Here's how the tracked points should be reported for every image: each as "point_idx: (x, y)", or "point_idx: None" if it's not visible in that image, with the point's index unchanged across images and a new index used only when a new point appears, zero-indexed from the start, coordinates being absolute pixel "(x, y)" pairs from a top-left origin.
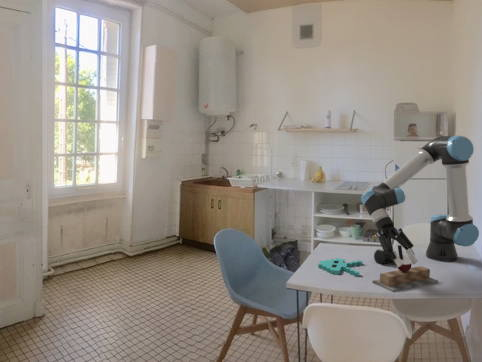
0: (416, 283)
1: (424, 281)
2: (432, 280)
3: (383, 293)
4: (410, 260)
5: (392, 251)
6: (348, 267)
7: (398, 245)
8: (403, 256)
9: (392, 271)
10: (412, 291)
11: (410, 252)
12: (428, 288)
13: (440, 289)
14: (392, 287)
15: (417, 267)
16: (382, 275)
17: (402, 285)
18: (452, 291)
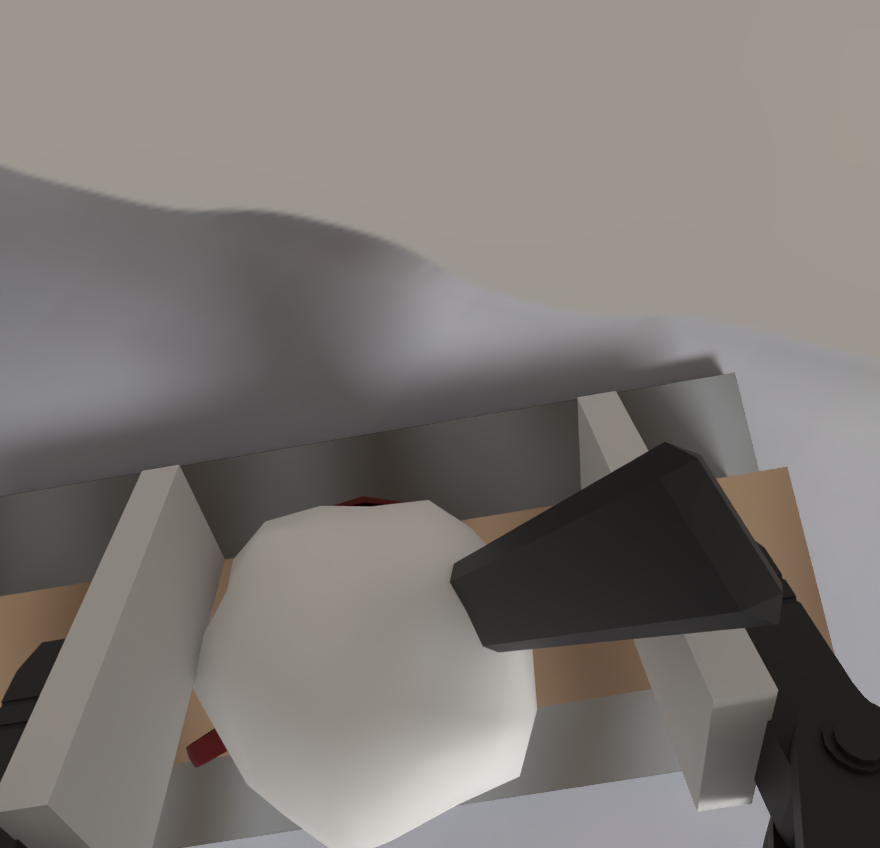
0: (311, 480)
1: None
2: (46, 517)
3: (860, 360)
4: (284, 533)
5: (798, 725)
6: None
7: (768, 562)
8: (370, 673)
9: (567, 695)
10: (491, 328)
11: (113, 692)
12: (253, 359)
13: (151, 300)
14: (690, 442)
15: None
16: (813, 601)
17: (525, 468)
18: (77, 221)
